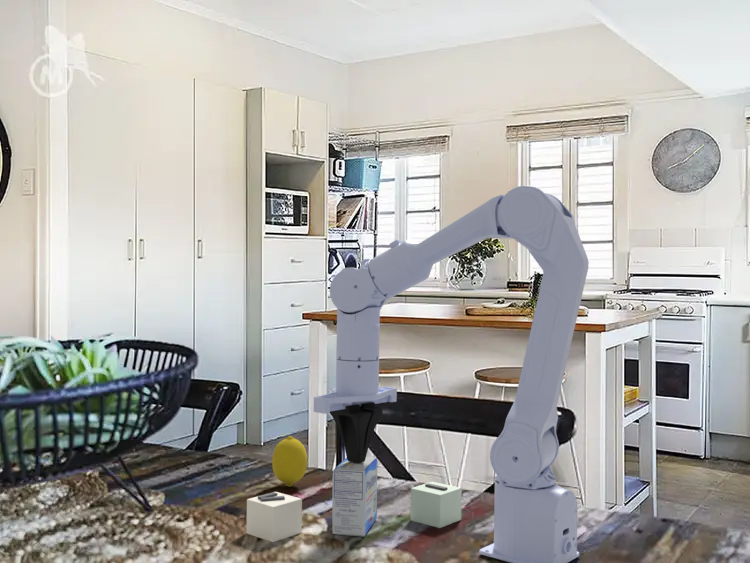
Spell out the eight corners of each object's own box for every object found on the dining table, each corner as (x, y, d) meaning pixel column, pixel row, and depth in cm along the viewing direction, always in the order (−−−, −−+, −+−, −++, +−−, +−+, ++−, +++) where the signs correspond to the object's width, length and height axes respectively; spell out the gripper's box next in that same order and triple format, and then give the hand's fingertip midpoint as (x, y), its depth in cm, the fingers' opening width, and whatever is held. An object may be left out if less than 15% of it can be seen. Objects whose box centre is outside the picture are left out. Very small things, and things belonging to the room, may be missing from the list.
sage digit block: (461, 520, 109) (461, 485, 109) (439, 528, 105) (440, 492, 105) (431, 513, 112) (432, 479, 112) (410, 520, 108) (410, 486, 108)
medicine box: (364, 538, 101) (366, 470, 101) (331, 535, 101) (332, 468, 101) (377, 519, 108) (378, 456, 108) (345, 517, 109) (346, 454, 109)
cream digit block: (301, 533, 102) (302, 496, 102) (272, 543, 98) (273, 504, 98) (275, 525, 105) (275, 489, 105) (246, 534, 102) (246, 496, 102)
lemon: (267, 484, 126) (268, 434, 126) (300, 480, 128) (300, 431, 128) (278, 492, 121) (278, 440, 121) (311, 489, 123) (312, 438, 123)
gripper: (370, 353, 113) (368, 448, 113) (297, 360, 102) (295, 465, 102) (409, 357, 108) (407, 456, 108) (337, 364, 97) (335, 474, 97)
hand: (356, 461), depth 105 cm, fingers closed
